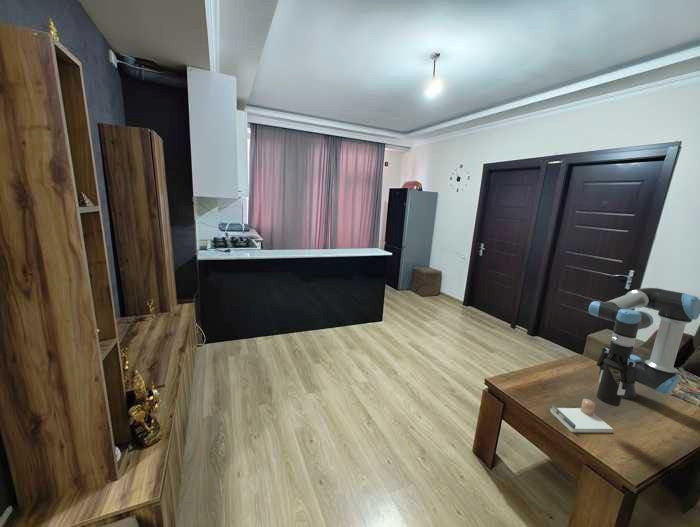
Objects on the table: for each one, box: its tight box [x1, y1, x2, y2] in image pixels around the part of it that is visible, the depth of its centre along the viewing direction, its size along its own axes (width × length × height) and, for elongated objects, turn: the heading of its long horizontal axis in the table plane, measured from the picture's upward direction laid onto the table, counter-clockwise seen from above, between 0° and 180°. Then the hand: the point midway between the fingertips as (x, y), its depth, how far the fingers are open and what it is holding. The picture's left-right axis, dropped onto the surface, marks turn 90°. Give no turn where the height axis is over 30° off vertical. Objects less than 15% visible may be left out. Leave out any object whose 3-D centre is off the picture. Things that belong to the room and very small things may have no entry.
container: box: [596, 359, 628, 407], centre depth 131 cm, size 9×9×20 cm
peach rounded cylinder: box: [580, 398, 596, 416], centre depth 144 cm, size 5×5×6 cm
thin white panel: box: [549, 404, 614, 433], centre depth 140 cm, size 20×14×4 cm
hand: (610, 388), depth 131 cm, fingers closed on container, 8 cm apart
